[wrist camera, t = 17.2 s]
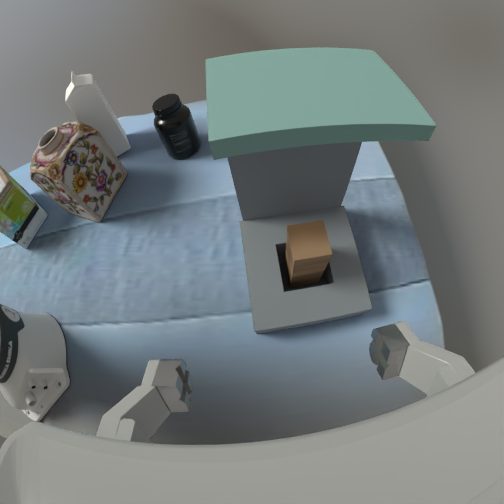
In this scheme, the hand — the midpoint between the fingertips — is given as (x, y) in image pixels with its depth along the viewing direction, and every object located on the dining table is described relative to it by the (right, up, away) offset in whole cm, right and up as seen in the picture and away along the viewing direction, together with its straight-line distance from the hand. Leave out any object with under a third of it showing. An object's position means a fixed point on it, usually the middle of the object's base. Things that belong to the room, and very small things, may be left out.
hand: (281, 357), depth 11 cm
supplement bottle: (-14, +25, +39) cm, 49 cm away
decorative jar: (-33, +16, +38) cm, 53 cm away
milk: (-31, +27, +42) cm, 59 cm away
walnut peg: (+6, +2, +28) cm, 28 cm away
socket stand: (+6, +1, +28) cm, 29 cm away
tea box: (-55, +12, +38) cm, 68 cm away
